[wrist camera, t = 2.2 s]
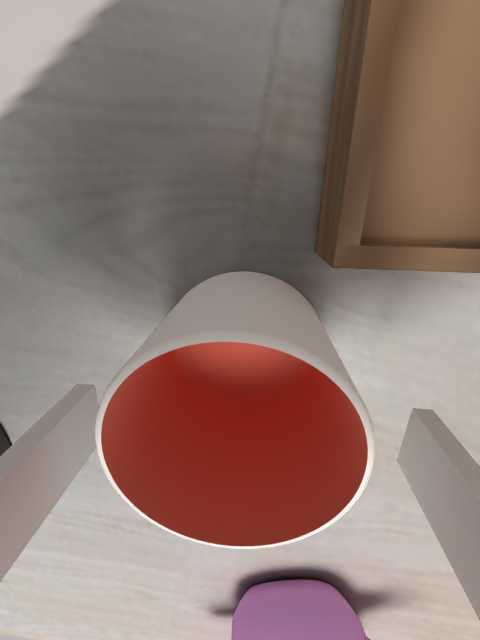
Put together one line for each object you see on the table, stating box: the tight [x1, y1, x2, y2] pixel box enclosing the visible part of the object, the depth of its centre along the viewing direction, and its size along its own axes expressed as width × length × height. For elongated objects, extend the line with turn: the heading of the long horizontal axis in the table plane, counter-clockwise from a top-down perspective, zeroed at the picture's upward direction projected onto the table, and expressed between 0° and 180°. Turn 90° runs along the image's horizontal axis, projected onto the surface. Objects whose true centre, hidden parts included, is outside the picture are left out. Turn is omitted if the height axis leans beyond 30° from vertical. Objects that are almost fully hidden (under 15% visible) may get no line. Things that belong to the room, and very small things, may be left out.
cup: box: [95, 271, 375, 549], centre depth 15 cm, size 10×10×10 cm
